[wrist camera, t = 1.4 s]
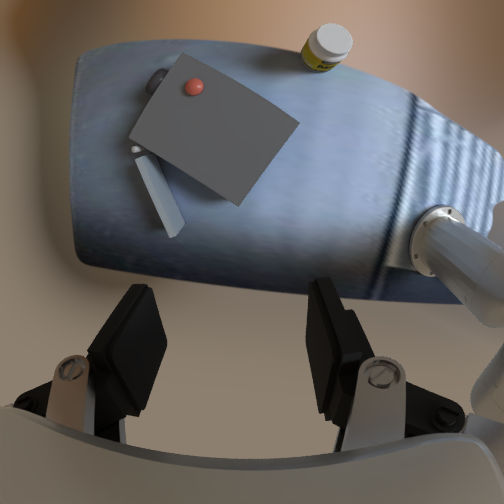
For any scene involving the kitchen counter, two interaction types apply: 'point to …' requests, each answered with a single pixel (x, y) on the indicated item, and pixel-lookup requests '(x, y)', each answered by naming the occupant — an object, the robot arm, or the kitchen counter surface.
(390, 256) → the kitchen counter surface
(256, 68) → the kitchen counter surface
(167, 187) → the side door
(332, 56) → the supplement bottle
